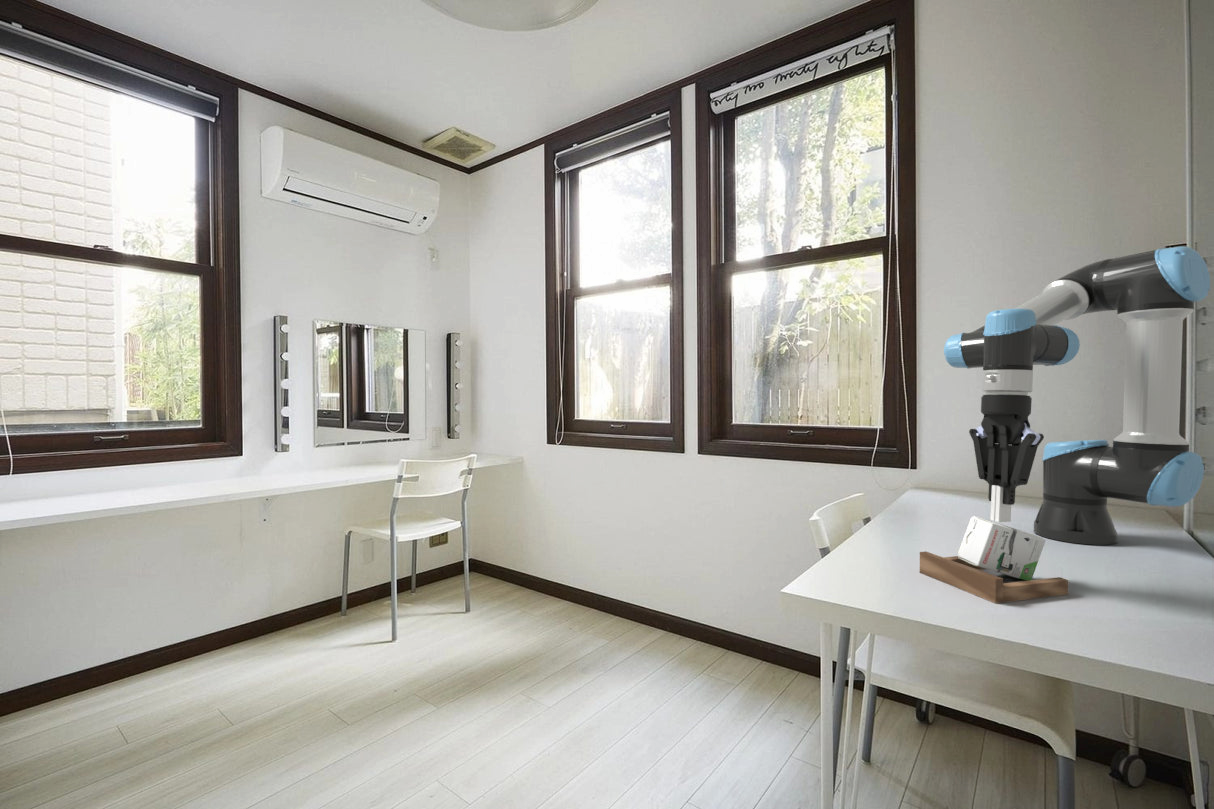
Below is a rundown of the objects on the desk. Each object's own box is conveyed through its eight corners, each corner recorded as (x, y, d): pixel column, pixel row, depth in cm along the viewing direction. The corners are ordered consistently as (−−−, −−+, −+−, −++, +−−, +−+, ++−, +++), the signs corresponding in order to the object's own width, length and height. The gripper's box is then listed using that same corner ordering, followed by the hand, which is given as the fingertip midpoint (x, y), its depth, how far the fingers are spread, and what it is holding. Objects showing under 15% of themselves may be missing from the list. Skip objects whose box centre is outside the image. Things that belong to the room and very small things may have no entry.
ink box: (1031, 583, 100) (977, 568, 98) (1008, 572, 105) (955, 558, 103) (1047, 538, 99) (992, 522, 98) (1022, 530, 104) (970, 514, 102)
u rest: (984, 565, 110) (984, 546, 110) (1068, 594, 94) (1068, 571, 94) (919, 572, 106) (919, 552, 106) (995, 603, 91) (995, 579, 91)
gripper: (958, 393, 107) (953, 513, 107) (1024, 393, 94) (1018, 530, 94) (990, 394, 108) (984, 512, 109) (1059, 394, 96) (1052, 529, 96)
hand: (1000, 520), depth 102 cm, fingers closed
